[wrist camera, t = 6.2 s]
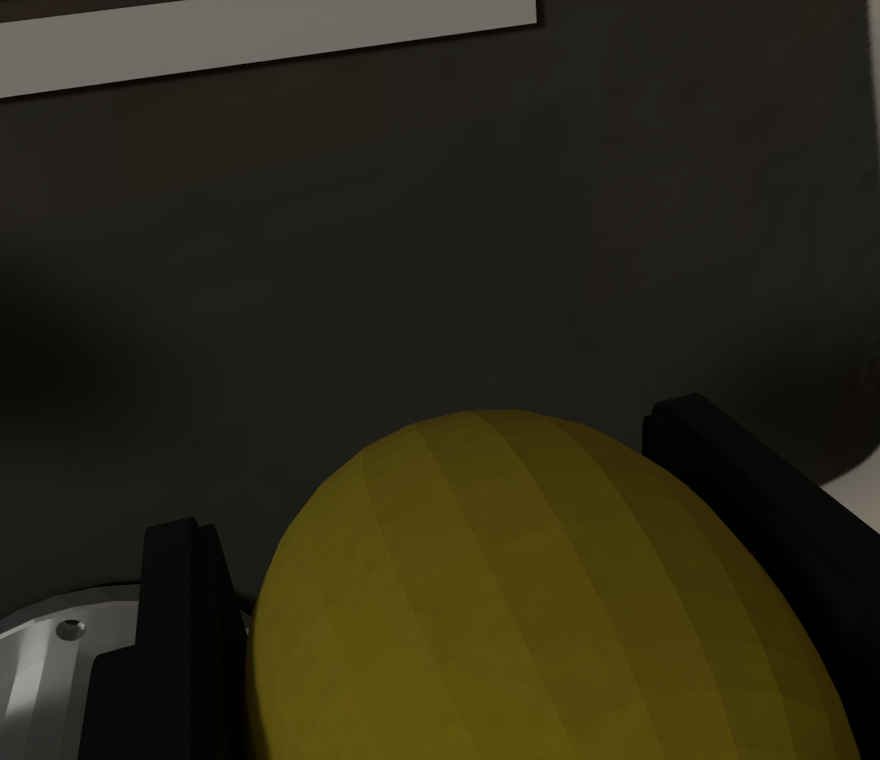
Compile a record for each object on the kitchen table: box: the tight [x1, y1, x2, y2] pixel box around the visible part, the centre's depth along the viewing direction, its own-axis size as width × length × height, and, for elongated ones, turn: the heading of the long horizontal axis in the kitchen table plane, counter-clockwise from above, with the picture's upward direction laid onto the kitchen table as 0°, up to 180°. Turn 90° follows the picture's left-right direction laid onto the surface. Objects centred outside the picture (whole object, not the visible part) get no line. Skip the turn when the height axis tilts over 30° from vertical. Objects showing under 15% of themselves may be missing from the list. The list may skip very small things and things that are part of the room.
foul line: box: [0, 0, 537, 98], centre depth 20 cm, size 2×18×1 cm, turn 96°
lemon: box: [241, 410, 861, 760], centre depth 8 cm, size 6×6×8 cm
